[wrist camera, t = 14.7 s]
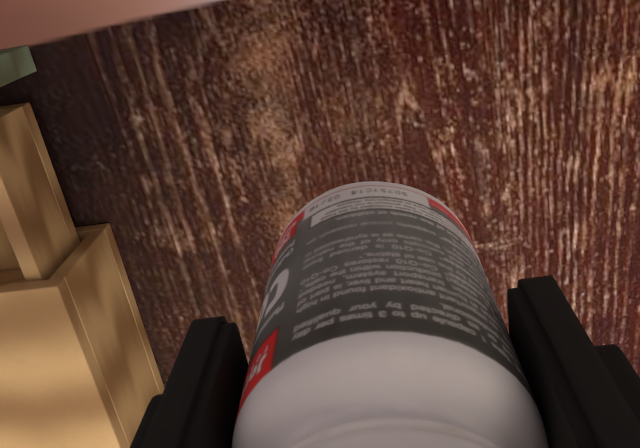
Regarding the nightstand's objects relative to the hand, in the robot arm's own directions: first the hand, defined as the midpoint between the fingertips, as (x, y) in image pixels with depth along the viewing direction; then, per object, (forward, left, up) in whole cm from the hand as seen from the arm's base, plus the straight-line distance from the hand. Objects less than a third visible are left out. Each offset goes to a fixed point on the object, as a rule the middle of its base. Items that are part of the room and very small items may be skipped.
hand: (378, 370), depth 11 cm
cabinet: (+11, -19, -20) cm, 30 cm away
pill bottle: (0, 0, -4) cm, 4 cm away
